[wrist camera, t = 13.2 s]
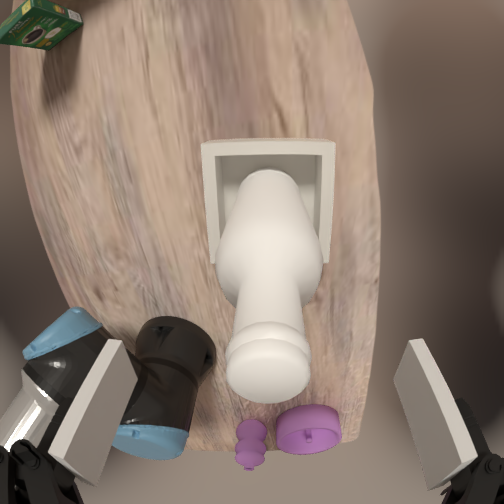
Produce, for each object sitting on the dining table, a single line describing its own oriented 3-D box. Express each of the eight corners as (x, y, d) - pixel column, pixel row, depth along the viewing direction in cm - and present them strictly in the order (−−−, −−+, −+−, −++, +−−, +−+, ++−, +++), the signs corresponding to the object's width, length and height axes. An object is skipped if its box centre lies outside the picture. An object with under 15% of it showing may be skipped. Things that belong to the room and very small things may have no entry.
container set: (340, 400, 58) (349, 448, 46) (335, 431, 65) (341, 472, 53) (231, 408, 61) (225, 456, 49) (241, 437, 67) (238, 479, 55)
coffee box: (82, 11, 27) (31, -7, 15) (85, 23, 28) (32, 6, 16) (46, 39, 29) (-8, 31, 17) (49, 51, 30) (-6, 45, 18)
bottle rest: (321, 243, 42) (328, 262, 37) (217, 244, 43) (210, 263, 38) (325, 138, 36) (335, 142, 30) (210, 140, 37) (200, 143, 31)
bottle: (296, 225, 40) (337, 427, 13) (238, 222, 40) (187, 421, 13) (300, 167, 37) (384, 310, 10) (239, 164, 37) (161, 300, 10)
